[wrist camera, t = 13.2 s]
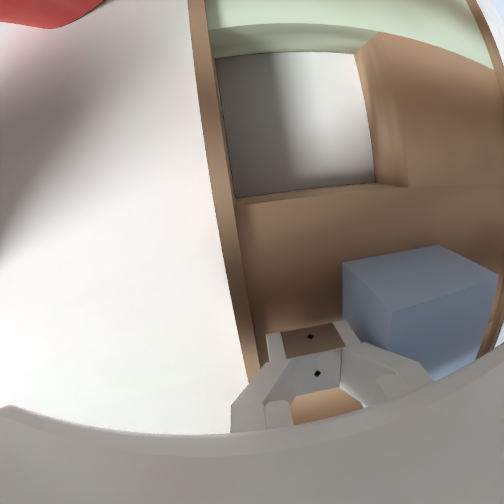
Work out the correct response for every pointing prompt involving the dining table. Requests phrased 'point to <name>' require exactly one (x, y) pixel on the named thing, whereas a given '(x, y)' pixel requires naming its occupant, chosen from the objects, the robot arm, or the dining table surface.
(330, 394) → the box
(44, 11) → the flower pot
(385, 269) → the cube
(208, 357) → the dining table surface
